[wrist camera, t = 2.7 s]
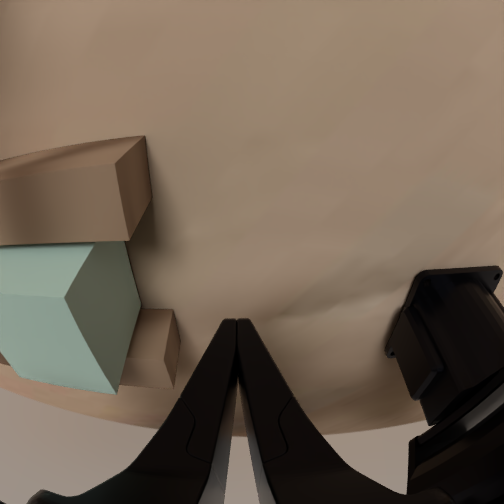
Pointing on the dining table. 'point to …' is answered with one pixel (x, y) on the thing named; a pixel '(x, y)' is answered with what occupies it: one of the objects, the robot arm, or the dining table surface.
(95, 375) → the block
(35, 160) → the chute
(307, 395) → the dining table surface
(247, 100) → the dining table surface
